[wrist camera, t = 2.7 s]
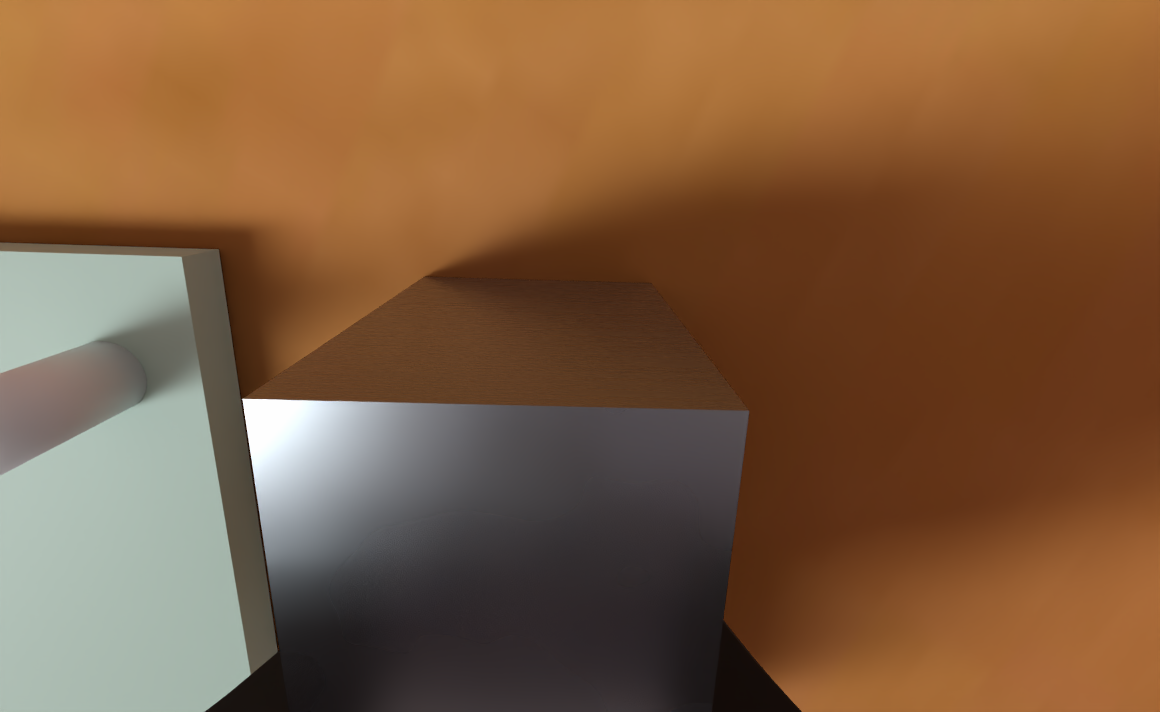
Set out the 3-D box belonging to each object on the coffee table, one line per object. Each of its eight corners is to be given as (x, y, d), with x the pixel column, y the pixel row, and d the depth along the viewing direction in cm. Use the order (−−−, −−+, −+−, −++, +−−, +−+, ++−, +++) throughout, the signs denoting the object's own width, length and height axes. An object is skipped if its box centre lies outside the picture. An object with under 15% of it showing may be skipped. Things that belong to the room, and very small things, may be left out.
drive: (653, 282, 10) (755, 411, 5) (623, 716, 13) (663, 1124, 8) (422, 275, 10) (236, 399, 5) (443, 714, 13) (346, 1125, 7)
